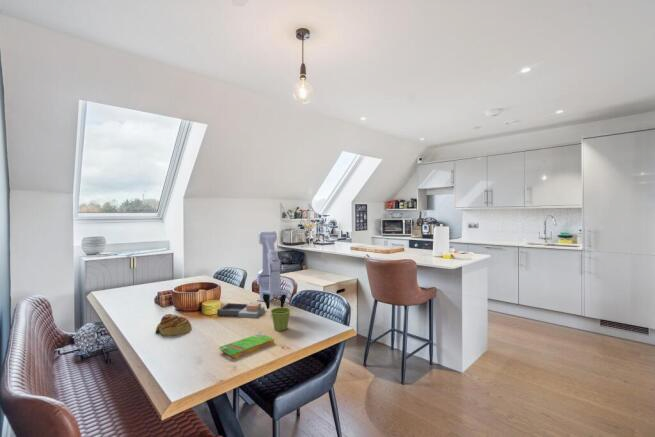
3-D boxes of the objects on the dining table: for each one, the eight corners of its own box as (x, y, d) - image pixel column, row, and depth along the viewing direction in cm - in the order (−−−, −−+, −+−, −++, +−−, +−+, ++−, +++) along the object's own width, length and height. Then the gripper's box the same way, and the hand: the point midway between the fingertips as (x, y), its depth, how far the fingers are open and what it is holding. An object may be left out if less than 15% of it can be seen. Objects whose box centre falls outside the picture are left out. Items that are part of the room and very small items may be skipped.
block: (250, 306, 175) (250, 302, 175) (260, 307, 174) (260, 303, 174) (246, 310, 169) (246, 305, 169) (256, 310, 168) (256, 306, 168)
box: (228, 308, 179) (228, 303, 179) (247, 309, 177) (247, 304, 177) (217, 315, 167) (217, 309, 167) (238, 316, 165) (238, 310, 165)
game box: (274, 346, 132) (230, 360, 117) (260, 339, 139) (217, 353, 124) (274, 338, 132) (230, 352, 117) (260, 332, 139) (217, 345, 124)
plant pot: (289, 332, 144) (289, 313, 144) (268, 332, 144) (268, 313, 144) (292, 325, 153) (291, 307, 153) (272, 325, 154) (272, 307, 153)
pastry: (157, 328, 150) (157, 311, 150) (192, 324, 155) (191, 307, 155) (153, 338, 138) (153, 320, 137) (190, 333, 143) (190, 316, 143)
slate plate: (247, 309, 177) (247, 305, 177) (264, 310, 176) (264, 306, 176) (238, 316, 165) (238, 312, 165) (256, 317, 164) (256, 313, 164)
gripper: (259, 284, 167) (259, 310, 167) (285, 285, 164) (285, 311, 165) (263, 281, 174) (264, 306, 174) (289, 282, 171) (289, 307, 172)
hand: (274, 308), depth 170 cm, fingers open, 7 cm apart
